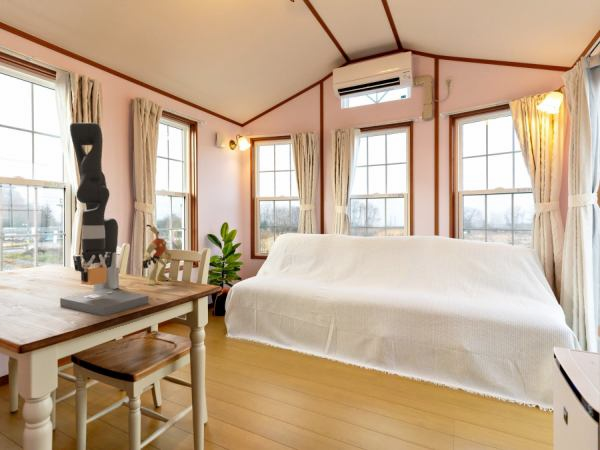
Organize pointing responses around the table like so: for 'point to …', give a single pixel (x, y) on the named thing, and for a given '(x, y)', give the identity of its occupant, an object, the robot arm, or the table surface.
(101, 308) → the panel
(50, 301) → the table surface
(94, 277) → the orange cube
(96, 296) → the button
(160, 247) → the toy
